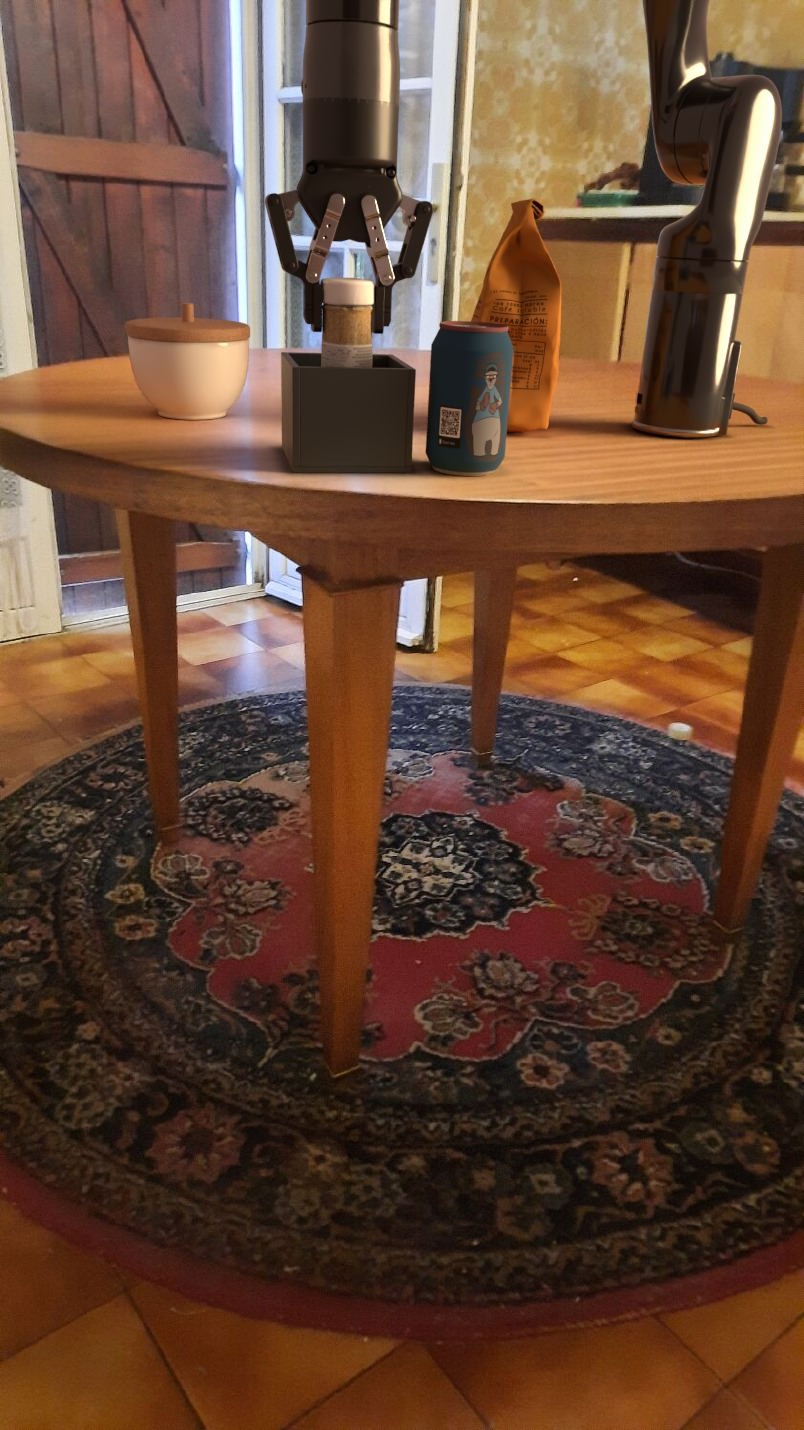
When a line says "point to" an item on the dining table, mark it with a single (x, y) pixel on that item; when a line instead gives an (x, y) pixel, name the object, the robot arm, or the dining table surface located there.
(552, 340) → the coffee package
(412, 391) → the storage bin
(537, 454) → the dining table surface
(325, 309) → the sprinkles bottle
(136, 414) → the dining table surface
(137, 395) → the dining table surface
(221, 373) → the lidded bowl
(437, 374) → the soda can
